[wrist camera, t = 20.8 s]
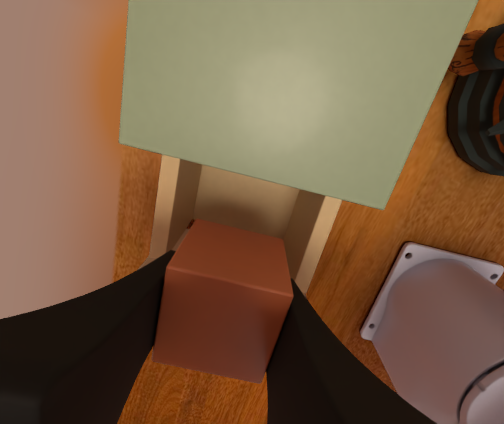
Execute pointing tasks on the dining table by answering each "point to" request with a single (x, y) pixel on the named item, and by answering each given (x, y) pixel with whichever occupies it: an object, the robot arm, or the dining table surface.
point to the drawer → (241, 212)
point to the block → (223, 302)
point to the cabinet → (288, 86)
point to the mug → (479, 100)
